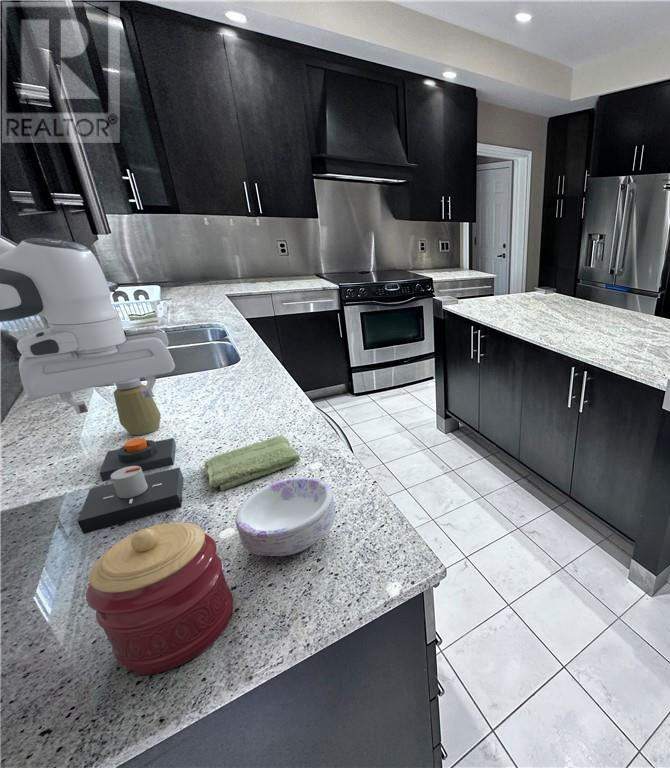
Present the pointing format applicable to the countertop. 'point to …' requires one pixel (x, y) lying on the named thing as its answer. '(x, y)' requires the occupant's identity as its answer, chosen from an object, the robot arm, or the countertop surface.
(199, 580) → the kitchen canister
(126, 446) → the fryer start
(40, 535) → the countertop surface
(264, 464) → the washcloth
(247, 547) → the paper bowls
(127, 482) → the timer dial
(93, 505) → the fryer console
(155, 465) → the button block
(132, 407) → the squeeze bottle
